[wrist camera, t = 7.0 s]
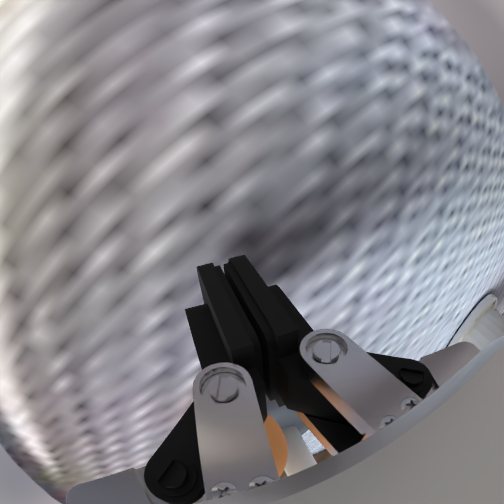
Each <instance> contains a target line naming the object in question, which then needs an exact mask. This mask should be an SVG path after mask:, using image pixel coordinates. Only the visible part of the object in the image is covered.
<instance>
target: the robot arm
mask: <svg viewBox="0 0 504 504" xmlns="http://www.w3.org/2000/svg"><path fill="white" fill-rule="evenodd" d="M197 272H198V277H199V282H200V286H201V291H202V295H203V300H204V304H203V305H199V306H196V307H192V308H188V309H185V311H186V315H187V319H188V322H189V326H190V330H191V333H192V337H193V341H194V344H195V347H196V351H197V354H198V358H199V361H200V364H201V368H202V371H201V372H200V373H199V374H198V375H197V376H196V378H195V380H194V382H193V398H194V402H193V403H192V404H191V406H190V407H189V408H188V410H187V411H186V412H185V414H184V415H183V416H182V418H181V419H180V421H179V422H178V423H177V425H176V426H175V427H174V429H173V430H172V431H171V433H170V434H169V435H168V437H167V438H166V439H165V440H164V442H163V443H162V444H161V446H160V447H159V448H158V450H157V451H156V452H155V453H154V455H153V456H152V457H151V459H150V460H149V461H148V463H147V465H146V466H144V467H142V468H139V469H136V470H135V469H134V468H131V469H128V470H125V471H122V472H119V473H116V474H113V475H110V476H106V477H103V478H100V479H96V480H93V481H89V482H85V483H81V484H78V485H76V486H74V487H72V488H71V489H70V490H69V492H68V493H67V497H66V503H67V504H504V312H503V313H502V314H501V313H500V312H498V311H497V310H496V307H497V303H498V299H497V297H496V296H494V295H493V294H489V295H487V296H486V297H485V298H484V299H482V301H481V302H480V303H479V304H478V305H477V306H476V307H475V309H474V310H473V311H472V312H471V314H470V315H469V316H468V317H467V319H466V320H465V322H464V323H463V324H462V326H461V327H460V329H459V330H458V332H457V333H456V334H455V336H454V337H453V339H452V341H451V342H450V344H449V345H448V347H447V348H444V349H442V350H439V351H437V352H434V353H432V354H429V355H427V356H424V357H421V359H420V361H416V360H412V359H406V358H399V357H392V356H386V355H380V354H374V353H369V352H365V351H364V350H363V349H362V348H361V347H359V346H358V345H357V344H356V343H355V342H353V341H352V340H351V339H350V338H349V337H347V336H346V335H345V334H343V333H341V332H339V331H336V330H332V329H320V330H316V331H313V329H312V328H311V327H310V326H309V324H308V323H307V322H306V321H305V319H304V318H303V317H302V315H301V314H300V313H299V312H298V310H297V309H296V308H295V307H294V305H293V304H292V303H291V301H290V300H289V299H288V298H287V296H286V295H285V294H284V293H283V291H282V290H281V289H280V287H278V286H277V285H272V286H269V287H268V286H267V285H266V284H265V282H264V281H263V280H262V278H261V277H260V275H259V274H258V273H257V271H256V270H255V268H254V267H253V266H252V264H251V263H250V262H249V260H248V259H247V257H246V256H245V255H242V256H238V257H234V258H230V259H229V260H228V263H227V264H224V272H225V275H224V273H223V271H222V269H221V267H220V266H215V267H214V265H213V263H210V264H205V265H201V266H197ZM266 395H267V397H268V399H269V400H270V401H273V400H276V402H277V404H278V406H279V407H282V406H284V405H285V406H286V407H287V409H290V410H293V411H296V413H297V415H298V416H299V418H300V419H301V420H302V421H303V423H304V424H305V425H306V426H307V427H308V429H309V430H310V431H311V432H312V433H313V434H314V436H315V437H316V438H317V439H318V440H319V441H320V442H321V444H322V445H323V446H324V447H325V448H326V449H327V450H328V452H329V453H330V454H331V455H332V456H333V457H331V458H329V459H326V460H324V461H322V462H320V463H318V464H316V465H314V466H311V467H309V468H307V469H304V470H302V471H300V472H297V473H295V474H292V475H290V476H287V477H285V478H282V479H280V478H279V474H278V471H277V468H276V464H275V461H274V458H273V454H272V451H271V447H270V444H269V440H268V437H267V433H266V430H265V426H264V422H265V420H266V418H267V404H266Z"/></svg>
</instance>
